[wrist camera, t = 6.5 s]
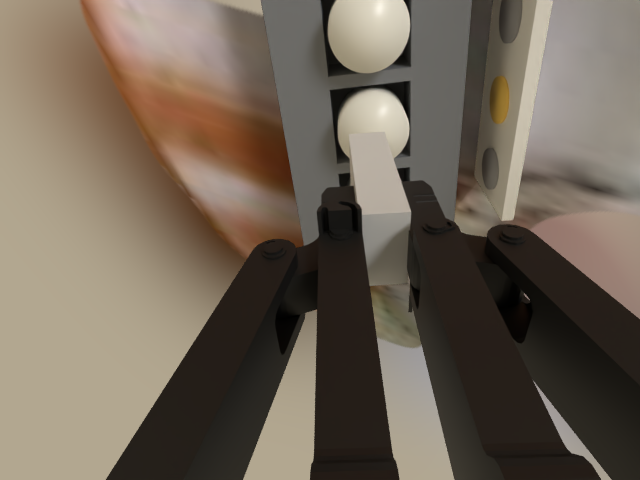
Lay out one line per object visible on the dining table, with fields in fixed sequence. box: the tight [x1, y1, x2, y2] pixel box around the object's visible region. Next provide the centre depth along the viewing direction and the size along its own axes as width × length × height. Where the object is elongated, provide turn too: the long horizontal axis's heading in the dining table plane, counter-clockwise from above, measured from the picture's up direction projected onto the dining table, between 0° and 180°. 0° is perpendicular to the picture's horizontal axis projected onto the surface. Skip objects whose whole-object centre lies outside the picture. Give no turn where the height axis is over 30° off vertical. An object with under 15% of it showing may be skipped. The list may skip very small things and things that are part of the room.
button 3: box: [338, 84, 409, 159], centre depth 28 cm, size 5×5×3 cm
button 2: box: [328, 0, 410, 73], centre depth 24 cm, size 5×5×3 cm
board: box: [261, 0, 472, 246], centre depth 28 cm, size 26×12×4 cm, turn 7°
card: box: [474, 0, 553, 221], centre depth 26 cm, size 20×1×7 cm, turn 7°
